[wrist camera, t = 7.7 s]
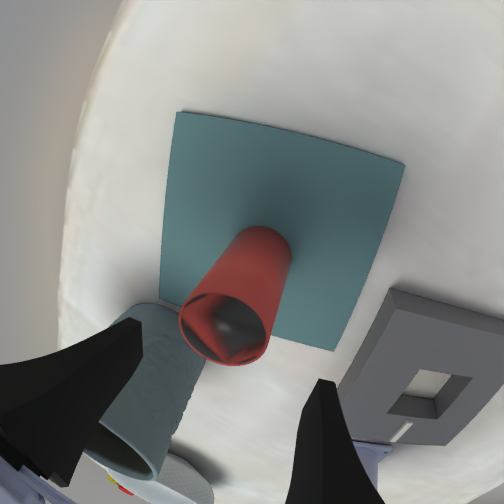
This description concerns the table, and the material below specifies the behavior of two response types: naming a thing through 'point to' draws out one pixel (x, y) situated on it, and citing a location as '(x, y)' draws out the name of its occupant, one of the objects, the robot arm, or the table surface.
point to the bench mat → (276, 215)
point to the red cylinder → (238, 299)
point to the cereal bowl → (170, 484)
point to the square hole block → (421, 357)
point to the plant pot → (148, 398)
